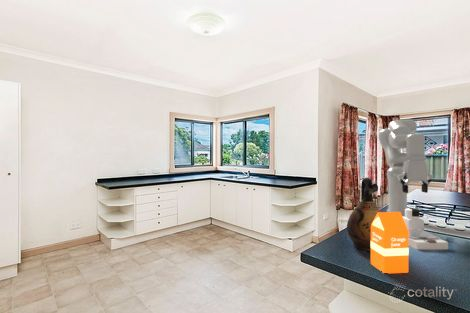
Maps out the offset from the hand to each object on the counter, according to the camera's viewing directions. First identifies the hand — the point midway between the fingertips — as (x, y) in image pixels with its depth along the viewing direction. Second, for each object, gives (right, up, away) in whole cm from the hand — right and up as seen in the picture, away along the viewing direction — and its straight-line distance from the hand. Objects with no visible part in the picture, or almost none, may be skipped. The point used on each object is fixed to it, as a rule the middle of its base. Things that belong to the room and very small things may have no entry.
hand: (414, 192), depth 125 cm
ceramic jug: (-34, -21, -17) cm, 43 cm away
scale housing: (-8, -21, -13) cm, 26 cm away
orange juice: (-36, -22, -37) cm, 56 cm away
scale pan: (-8, -18, -12) cm, 22 cm away
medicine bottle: (0, -21, +1) cm, 21 cm away
